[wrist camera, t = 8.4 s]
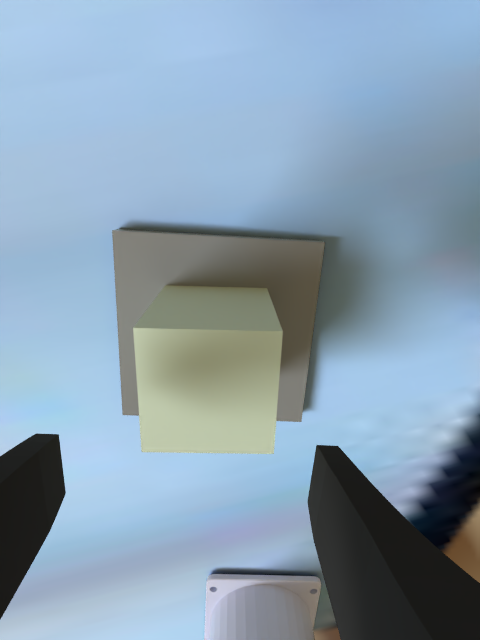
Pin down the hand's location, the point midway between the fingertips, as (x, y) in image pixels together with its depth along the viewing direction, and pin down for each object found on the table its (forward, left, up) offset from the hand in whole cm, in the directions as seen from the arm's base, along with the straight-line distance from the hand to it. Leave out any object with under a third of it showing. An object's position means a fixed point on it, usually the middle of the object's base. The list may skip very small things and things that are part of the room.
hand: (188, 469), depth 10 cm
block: (+1, 0, -9) cm, 9 cm away
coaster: (+1, 0, -10) cm, 10 cm away
